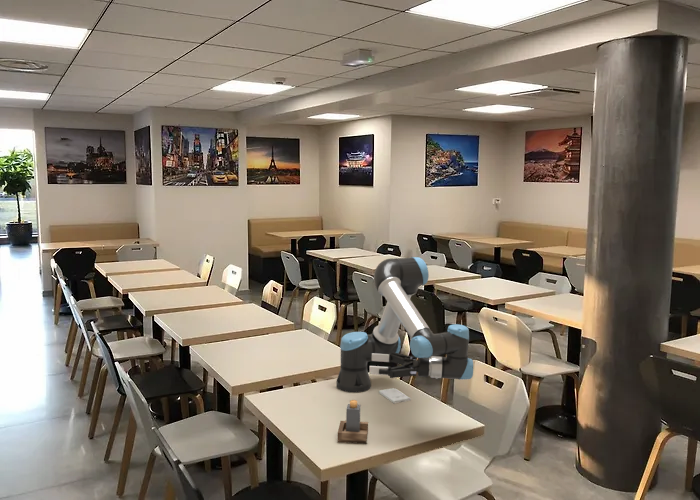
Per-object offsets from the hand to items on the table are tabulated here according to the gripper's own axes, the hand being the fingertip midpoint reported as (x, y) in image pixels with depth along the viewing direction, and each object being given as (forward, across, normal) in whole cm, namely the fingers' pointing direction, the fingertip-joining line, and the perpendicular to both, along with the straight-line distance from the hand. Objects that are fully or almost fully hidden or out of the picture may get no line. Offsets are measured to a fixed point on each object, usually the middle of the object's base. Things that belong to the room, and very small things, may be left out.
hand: (370, 363), depth 207 cm
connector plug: (+5, -11, -22) cm, 25 cm away
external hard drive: (-9, +29, -25) cm, 39 cm away
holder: (+5, -11, -24) cm, 26 cm away
